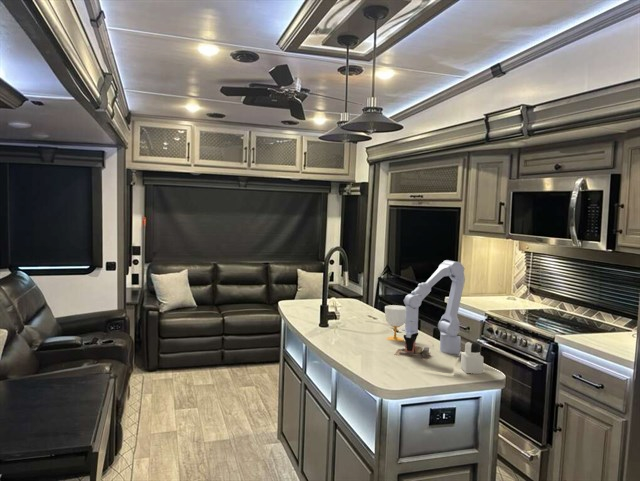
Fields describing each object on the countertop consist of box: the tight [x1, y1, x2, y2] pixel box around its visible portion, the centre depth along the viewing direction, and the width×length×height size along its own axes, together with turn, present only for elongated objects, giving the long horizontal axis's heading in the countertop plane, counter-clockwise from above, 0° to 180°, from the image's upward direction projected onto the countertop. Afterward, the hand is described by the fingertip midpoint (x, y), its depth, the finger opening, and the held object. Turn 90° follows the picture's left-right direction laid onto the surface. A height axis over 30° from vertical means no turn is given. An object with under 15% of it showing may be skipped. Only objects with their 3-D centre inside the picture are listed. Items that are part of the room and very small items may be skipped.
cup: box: [384, 304, 406, 342], centre depth 246 cm, size 12×12×17 cm
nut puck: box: [414, 346, 424, 354], centre depth 216 cm, size 4×4×3 cm
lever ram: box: [404, 341, 416, 353], centre depth 218 cm, size 4×4×6 cm
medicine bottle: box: [460, 341, 484, 375], centre depth 198 cm, size 7×7×12 cm
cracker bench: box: [394, 347, 431, 360], centre depth 217 cm, size 15×11×4 cm
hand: (410, 349), depth 218 cm, fingers closed on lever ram, 4 cm apart
